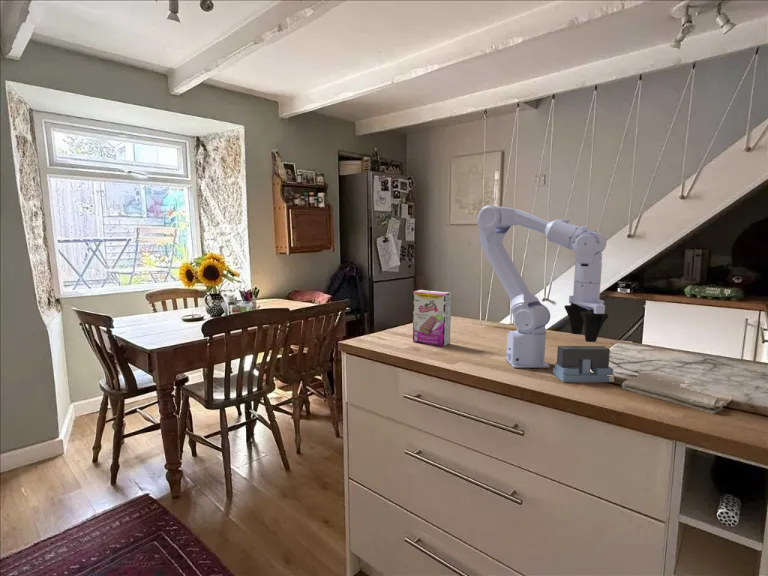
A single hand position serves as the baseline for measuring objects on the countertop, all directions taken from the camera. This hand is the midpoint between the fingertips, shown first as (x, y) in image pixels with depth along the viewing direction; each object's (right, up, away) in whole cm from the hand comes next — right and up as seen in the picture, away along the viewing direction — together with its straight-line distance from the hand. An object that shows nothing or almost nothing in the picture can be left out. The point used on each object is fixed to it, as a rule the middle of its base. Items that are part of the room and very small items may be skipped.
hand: (583, 337), depth 102 cm
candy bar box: (-33, -6, +31) cm, 46 cm away
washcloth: (+15, -12, -11) cm, 22 cm away
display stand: (-1, -10, -1) cm, 10 cm away
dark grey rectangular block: (-1, -7, -1) cm, 7 cm away
